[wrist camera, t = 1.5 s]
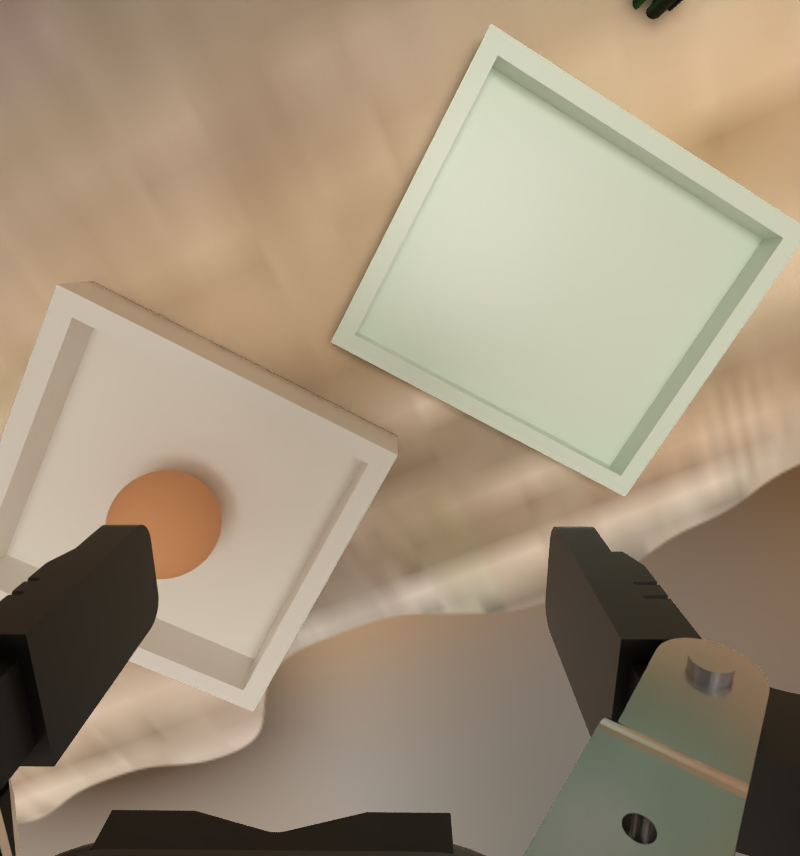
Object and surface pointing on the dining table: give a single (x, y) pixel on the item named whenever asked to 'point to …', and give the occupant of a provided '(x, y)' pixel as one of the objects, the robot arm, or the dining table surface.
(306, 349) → the dining table surface
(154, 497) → the ball
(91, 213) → the dining table surface
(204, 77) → the dining table surface
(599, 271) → the tray
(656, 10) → the emblem
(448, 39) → the dining table surface
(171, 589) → the cream square dish
